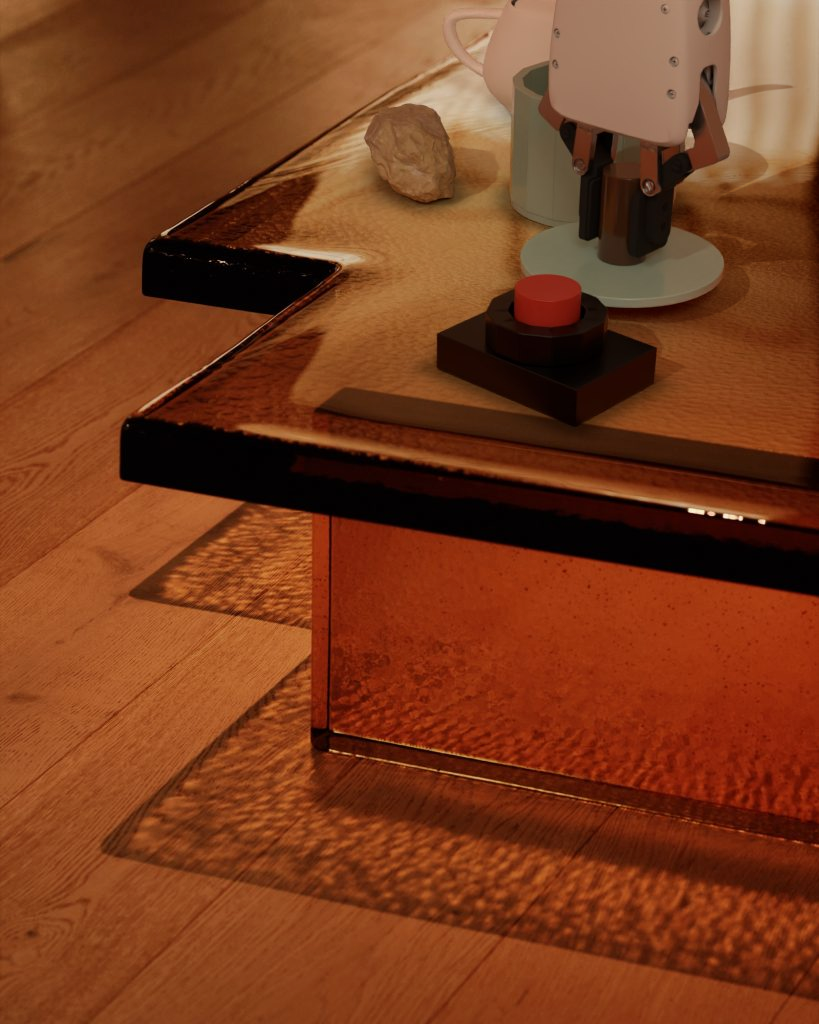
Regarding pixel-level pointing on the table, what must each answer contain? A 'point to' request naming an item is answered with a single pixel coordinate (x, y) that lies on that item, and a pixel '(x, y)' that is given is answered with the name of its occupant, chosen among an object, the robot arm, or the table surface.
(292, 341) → the table surface
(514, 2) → the teapot
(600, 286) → the lid
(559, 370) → the button block
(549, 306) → the button
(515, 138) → the jar
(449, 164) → the stone tool
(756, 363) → the table surface
